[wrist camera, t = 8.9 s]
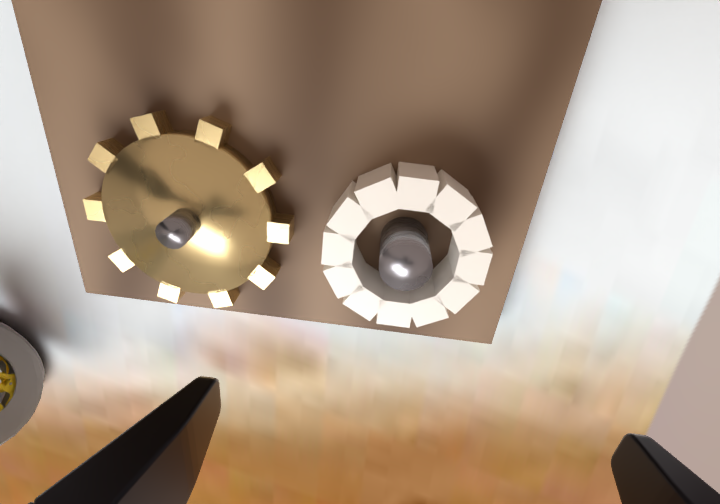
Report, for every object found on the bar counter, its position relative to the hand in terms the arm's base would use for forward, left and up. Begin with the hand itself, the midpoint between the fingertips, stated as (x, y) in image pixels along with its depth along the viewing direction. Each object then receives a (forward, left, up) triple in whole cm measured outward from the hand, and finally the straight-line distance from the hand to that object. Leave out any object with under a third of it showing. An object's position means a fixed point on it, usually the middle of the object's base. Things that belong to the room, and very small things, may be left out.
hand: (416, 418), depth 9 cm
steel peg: (0, 0, -9) cm, 9 cm away
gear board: (-5, +4, -11) cm, 13 cm away
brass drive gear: (-9, 0, -9) cm, 13 cm away
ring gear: (0, 0, -9) cm, 9 cm away
